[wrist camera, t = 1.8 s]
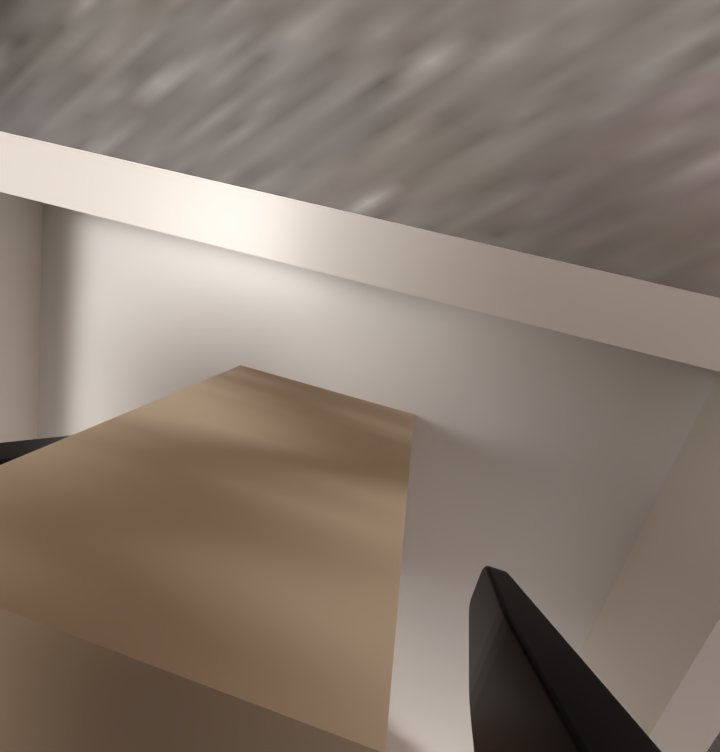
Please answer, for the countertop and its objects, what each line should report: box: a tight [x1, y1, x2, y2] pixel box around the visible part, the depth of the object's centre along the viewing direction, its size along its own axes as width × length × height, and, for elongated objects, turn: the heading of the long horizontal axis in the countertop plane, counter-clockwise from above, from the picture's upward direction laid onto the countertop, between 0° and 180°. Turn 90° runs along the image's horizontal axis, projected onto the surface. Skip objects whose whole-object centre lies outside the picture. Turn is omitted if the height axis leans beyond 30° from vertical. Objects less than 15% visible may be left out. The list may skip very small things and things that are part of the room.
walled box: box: [0, 131, 720, 752], centre depth 11 cm, size 18×24×3 cm
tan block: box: [0, 365, 414, 752], centre depth 7 cm, size 4×4×7 cm
